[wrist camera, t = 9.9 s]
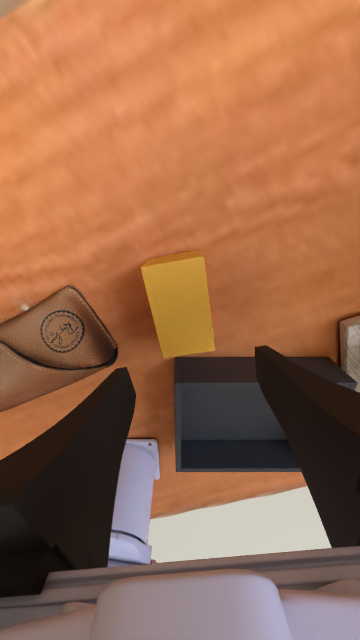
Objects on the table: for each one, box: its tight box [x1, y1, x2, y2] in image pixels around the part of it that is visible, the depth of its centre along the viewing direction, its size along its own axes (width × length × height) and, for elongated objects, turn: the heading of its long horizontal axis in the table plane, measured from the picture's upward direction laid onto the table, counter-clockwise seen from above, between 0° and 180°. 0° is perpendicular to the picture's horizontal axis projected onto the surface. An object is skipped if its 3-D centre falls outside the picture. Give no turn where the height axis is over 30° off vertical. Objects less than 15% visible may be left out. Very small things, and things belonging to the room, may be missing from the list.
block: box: [140, 250, 215, 358], centre depth 18 cm, size 4×8×4 cm, turn 10°
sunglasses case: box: [0, 286, 118, 412], centre depth 20 cm, size 18×7×7 cm, turn 116°
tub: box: [174, 357, 358, 472], centre depth 23 cm, size 16×13×4 cm
